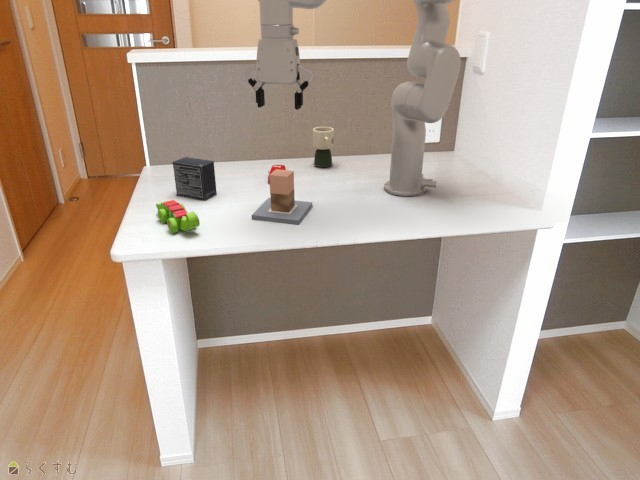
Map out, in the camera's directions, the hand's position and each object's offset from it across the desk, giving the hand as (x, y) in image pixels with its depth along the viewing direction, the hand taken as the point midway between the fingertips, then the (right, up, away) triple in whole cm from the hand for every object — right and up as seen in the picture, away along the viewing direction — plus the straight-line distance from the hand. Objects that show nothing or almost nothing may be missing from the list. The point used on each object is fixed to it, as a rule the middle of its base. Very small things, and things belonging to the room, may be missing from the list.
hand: (279, 107), depth 123 cm
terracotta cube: (0, -20, +10) cm, 22 cm away
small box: (-26, -20, +25) cm, 41 cm away
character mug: (+11, -7, +50) cm, 52 cm away
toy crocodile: (-27, -29, +6) cm, 40 cm away
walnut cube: (0, -24, +12) cm, 27 cm away
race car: (-4, -13, +38) cm, 41 cm away
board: (0, -25, +12) cm, 28 cm away
